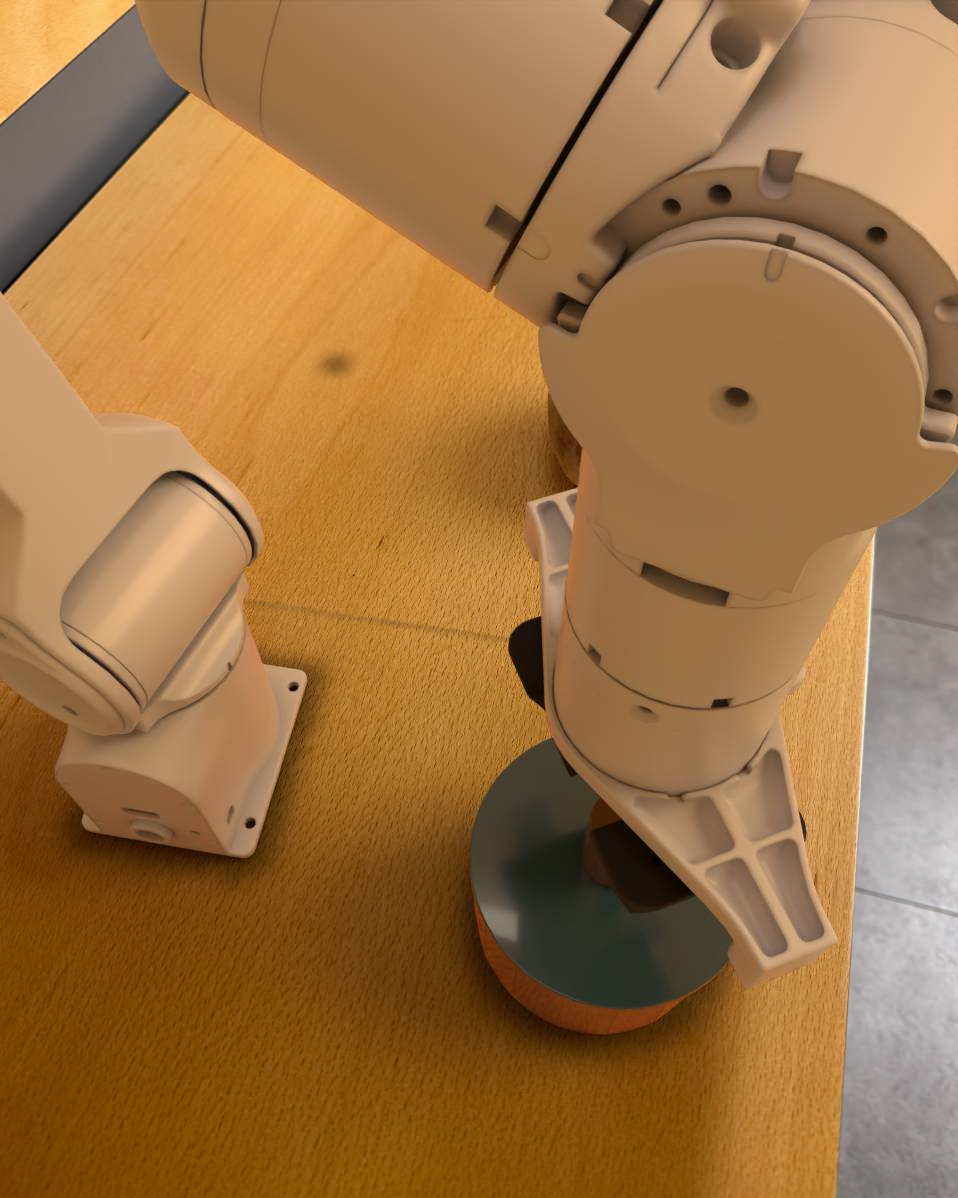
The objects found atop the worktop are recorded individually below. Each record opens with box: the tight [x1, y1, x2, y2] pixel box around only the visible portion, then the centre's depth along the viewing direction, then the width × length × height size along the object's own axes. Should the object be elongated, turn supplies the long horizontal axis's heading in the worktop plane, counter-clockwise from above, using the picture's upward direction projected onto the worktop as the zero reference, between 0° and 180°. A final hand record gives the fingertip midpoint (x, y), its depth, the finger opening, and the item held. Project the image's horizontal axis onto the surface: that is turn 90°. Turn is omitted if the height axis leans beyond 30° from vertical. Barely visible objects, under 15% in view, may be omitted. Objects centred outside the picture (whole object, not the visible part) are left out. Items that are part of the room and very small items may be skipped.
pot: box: [473, 897, 686, 1036], centre depth 40 cm, size 10×10×6 cm
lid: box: [468, 736, 733, 1012], centre depth 36 cm, size 11×11×5 cm
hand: (621, 819), depth 34 cm, fingers open, 4 cm apart
